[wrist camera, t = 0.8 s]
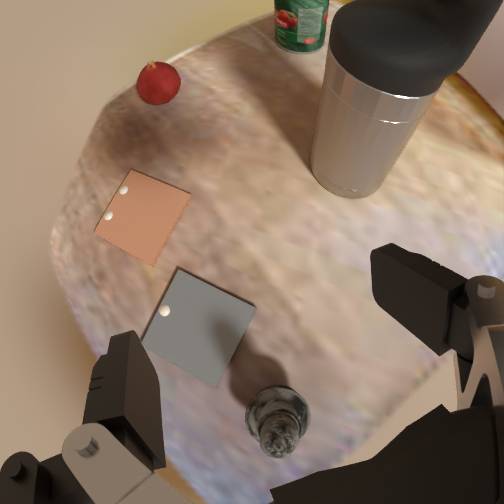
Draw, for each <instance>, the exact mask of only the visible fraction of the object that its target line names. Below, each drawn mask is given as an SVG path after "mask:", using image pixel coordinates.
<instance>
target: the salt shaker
mask: <svg viewBox="0 0 504 504" xmlns="http://www.w3.org/2000/svg"><path fill="white" fill-rule="evenodd" d="M245 422H246V426H247V429H248V431H249V432H250V434H251V436H252V437H254V438H255V439H256V440H257V441H258V442H260V446H261V448H262V450H263V451H264V452H265V453H266V454H267V455H268V456H270V457H274V458H284V457H287V456H289V455H291V454H292V453H293V452H294V451H295V450H296V448H297V447H298V444H299V439H300V438H301V437H302V436H303V435H304V434H305V432H306V431H307V429H308V427H309V424H310V410H309V406H308V404H307V403H306V401H305V399H304V398H303V397H301V396H300V395H299V394H298V393H296V392H295V391H294V390H293V389H291V388H289V387H286V386H282V385H274V386H270V387H267V388H265V389H263V390H261V391H260V392H259V393H258V394H257V395H256V396H255V397H254V398H253V399H252V401H251V402H250V404H249V405H248V407H247V410H246V414H245Z"/></svg>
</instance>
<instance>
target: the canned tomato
mask: <svg viewBox="0 0 504 504" xmlns="http://www.w3.org/2000/svg"><path fill="white" fill-rule="evenodd" d="M274 1H275V2H274V4H275V41H276V43H277V45H278V46H279V47H280V48H282V49H283V50H286V51H288V52H291V53H296V54H311V53H315V52H317V51H319V50H321V49H322V48H323V46H324V43H325V42H324V40H325V32H326V24H327V16H328V8H329V0H274Z"/></svg>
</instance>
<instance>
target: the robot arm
mask: <svg viewBox="0 0 504 504" xmlns="http://www.w3.org/2000/svg"><path fill="white" fill-rule="evenodd" d="M502 2H503V0H356V1H353V2H350V3H348V4H346V5H344V6H343V7H341V8H340V9H339V10H338V11H337V12H336V14H335V15H334V18H333V20H332V24H331V30H330V37H329V44H328V51H327V58H326V64H325V72H324V78H323V84H322V91H321V97H320V103H319V109H318V115H317V120H316V126H315V132H314V137H313V143H312V148H311V154H310V166H311V169H312V172H313V174H314V176H315V178H316V179H317V180H318V182H319V183H320V184H321V185H322V186H323V187H324V188H326V189H327V190H328V191H330V192H332V193H333V194H335V195H338V196H341V197H345V198H362V197H366V196H368V195H370V194H372V193H374V192H375V191H376V190H377V189H378V188H379V187H380V185H381V184H382V182H383V181H384V179H385V178H386V176H387V175H388V173H389V172H390V170H391V169H392V167H393V166H394V164H395V162H396V161H397V159H398V158H399V156H400V154H401V153H402V151H403V150H404V148H405V146H406V145H407V143H408V141H409V140H410V138H411V136H412V135H413V133H414V131H415V130H416V128H417V126H418V125H419V123H420V121H421V120H422V118H423V116H424V115H425V113H426V111H427V109H428V107H429V106H430V104H431V102H432V100H433V99H434V97H435V95H436V93H437V91H438V90H439V88H440V86H441V84H442V82H443V81H444V79H445V78H447V77H448V76H450V75H452V74H454V73H455V72H457V71H458V70H459V69H460V68H461V67H462V66H463V65H464V63H465V62H466V60H467V59H468V58H469V56H470V54H471V53H472V51H473V50H474V48H475V46H476V45H477V43H478V42H479V40H480V38H481V37H482V35H483V33H484V32H485V30H486V29H487V27H488V26H489V24H490V22H491V21H492V19H493V18H494V16H495V14H496V13H497V11H498V9H499V8H500V6H501V4H502ZM370 261H371V276H372V292H373V296H374V299H375V301H376V302H377V304H378V305H379V306H380V307H381V308H382V309H383V310H385V311H386V312H387V313H388V314H389V315H391V316H392V317H393V318H394V319H396V320H397V321H398V322H399V323H400V324H402V325H403V326H404V327H405V328H406V329H408V330H409V331H410V332H411V333H412V334H414V335H415V336H416V337H417V338H418V339H420V340H421V341H422V342H423V343H424V344H426V345H427V346H428V347H429V348H430V349H431V350H433V351H434V352H435V353H436V354H437V355H438V356H441V355H442V354H444V353H445V352H447V351H448V350H450V349H451V348H452V349H453V350H455V352H454V357H453V361H454V369H455V377H456V388H457V403H458V404H457V411H454V412H451V413H450V412H449V411H448V410H447V409H446V408H445V407H444V406H443V405H442V404H441V405H439V406H438V407H436V408H435V409H433V410H432V411H430V412H429V413H427V414H426V415H424V416H423V417H421V418H420V419H418V420H417V421H415V422H413V423H412V424H410V425H408V426H407V427H406V428H405V429H404V430H403V431H402V432H401V433H400V434H399V435H397V436H396V437H395V438H394V439H393V440H392V441H391V442H390V443H389V444H388V445H387V446H386V447H384V448H383V449H382V450H381V451H380V452H379V453H378V454H377V455H376V456H374V457H373V458H371V459H369V460H366V461H362V462H359V463H355V464H351V465H347V466H342V467H338V468H333V469H329V470H324V471H319V472H316V473H313V474H311V475H308V476H306V477H303V478H301V479H298V480H296V481H293V482H290V483H287V484H285V485H282V486H279V487H276V488H273V489H270V492H271V494H272V497H273V499H274V501H272V502H271V503H269V504H504V282H503V281H501V280H500V279H498V278H495V277H492V276H486V275H481V276H475V277H472V278H471V279H469V280H468V279H466V278H464V277H463V276H461V275H459V274H457V273H455V272H453V271H452V270H450V269H448V268H446V267H444V266H440V264H439V263H437V262H435V261H433V262H432V260H431V259H429V258H427V257H425V256H423V255H421V254H417V253H413V252H409V251H407V250H405V249H403V248H401V247H399V246H397V245H395V244H393V243H389V244H387V245H384V246H382V247H379V248H376V249H374V250H372V252H371V255H370ZM165 467H166V461H165V451H164V441H163V429H162V417H161V402H160V385H159V380H158V376H157V373H156V371H155V368H154V366H153V364H152V363H151V361H150V359H149V357H148V355H147V353H146V351H145V349H144V347H143V345H142V343H141V341H140V339H139V337H138V335H137V334H136V332H135V331H134V330H131V331H128V332H125V333H121V334H118V335H114V336H111V338H110V342H109V347H108V352H107V354H105V355H102V356H101V357H100V358H99V360H98V361H97V362H96V364H95V366H94V367H93V371H92V375H91V382H90V385H89V392H88V395H87V400H86V406H85V411H84V417H83V423H82V425H81V426H79V427H77V428H76V429H74V430H73V431H72V432H71V433H70V434H69V435H68V436H67V437H66V439H65V441H64V443H63V446H62V453H61V454H58V455H56V456H54V457H51V458H49V459H46V460H44V461H42V462H39V461H38V460H37V459H36V458H35V457H34V456H33V455H32V454H30V453H28V452H18V453H15V454H13V455H12V456H10V457H9V458H8V459H7V460H6V461H5V462H4V464H3V466H2V468H1V471H0V504H195V503H193V502H192V501H190V500H189V499H188V498H186V497H185V496H184V495H182V494H181V493H180V492H179V491H177V490H176V489H175V488H173V487H172V486H171V485H170V484H168V483H167V482H166V481H165V480H163V479H162V478H161V477H160V476H159V475H157V474H156V473H155V472H154V470H155V469H160V468H165Z"/></svg>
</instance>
